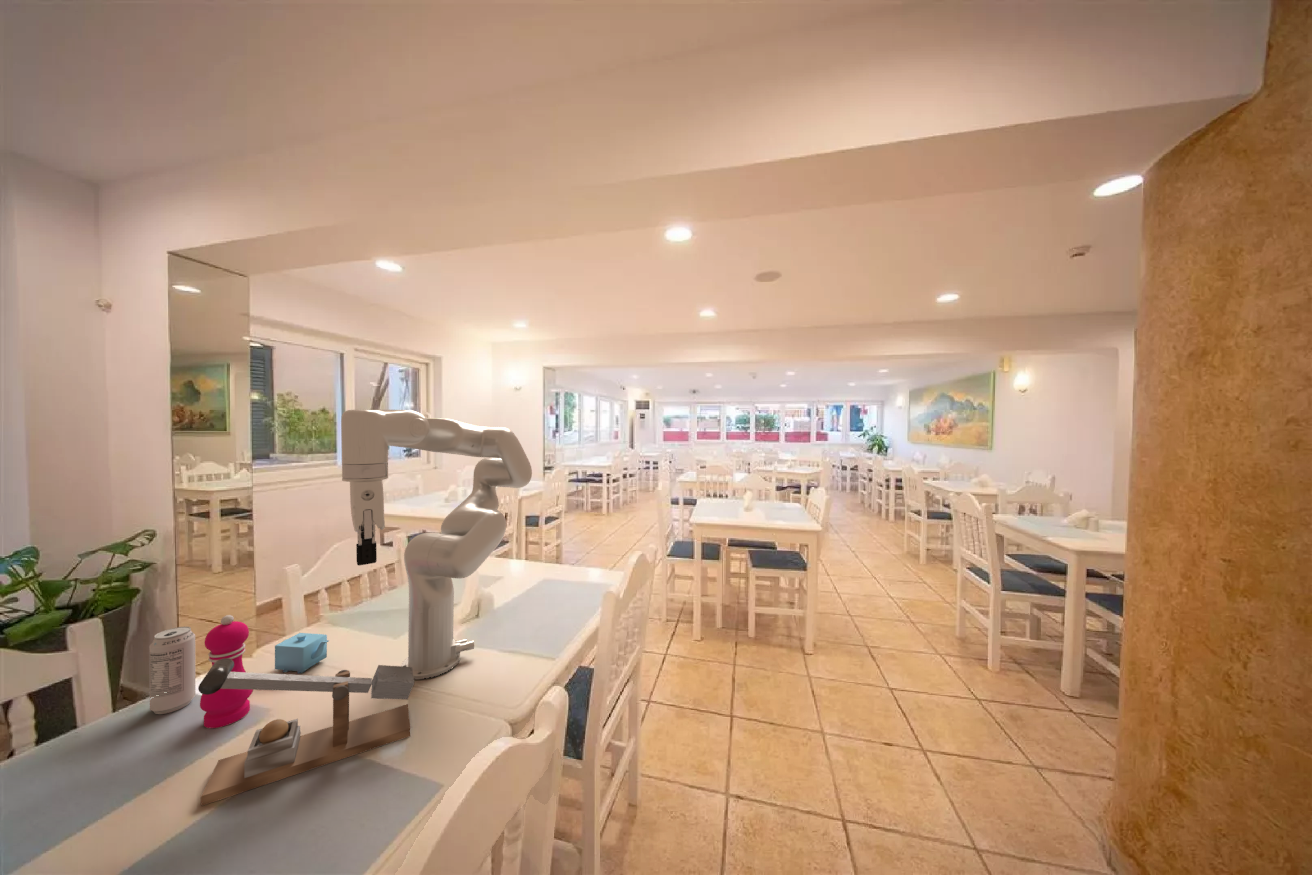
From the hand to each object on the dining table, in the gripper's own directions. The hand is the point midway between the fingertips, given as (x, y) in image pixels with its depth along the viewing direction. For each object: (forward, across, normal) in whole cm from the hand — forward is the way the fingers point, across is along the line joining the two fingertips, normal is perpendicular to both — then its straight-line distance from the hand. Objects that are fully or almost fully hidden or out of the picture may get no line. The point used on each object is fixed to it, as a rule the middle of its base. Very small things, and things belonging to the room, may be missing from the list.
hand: (366, 562), depth 84 cm
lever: (+18, -9, +8) cm, 22 cm away
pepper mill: (+30, +12, +22) cm, 39 cm away
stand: (+30, -9, +8) cm, 32 cm away
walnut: (+24, -8, +14) cm, 29 cm away
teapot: (+30, +26, +11) cm, 41 cm away
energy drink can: (+30, +23, +31) cm, 49 cm away
